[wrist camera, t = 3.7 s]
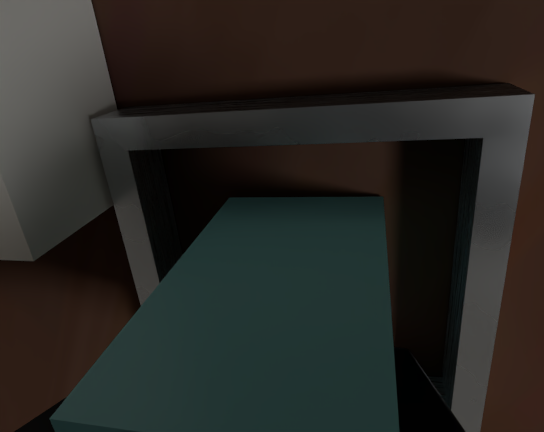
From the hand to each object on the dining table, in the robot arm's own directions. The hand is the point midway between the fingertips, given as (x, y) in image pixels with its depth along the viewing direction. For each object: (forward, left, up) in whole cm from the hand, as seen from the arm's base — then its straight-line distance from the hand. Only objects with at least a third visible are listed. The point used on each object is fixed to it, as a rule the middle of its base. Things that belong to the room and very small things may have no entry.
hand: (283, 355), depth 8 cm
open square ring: (0, 0, -4) cm, 4 cm away
